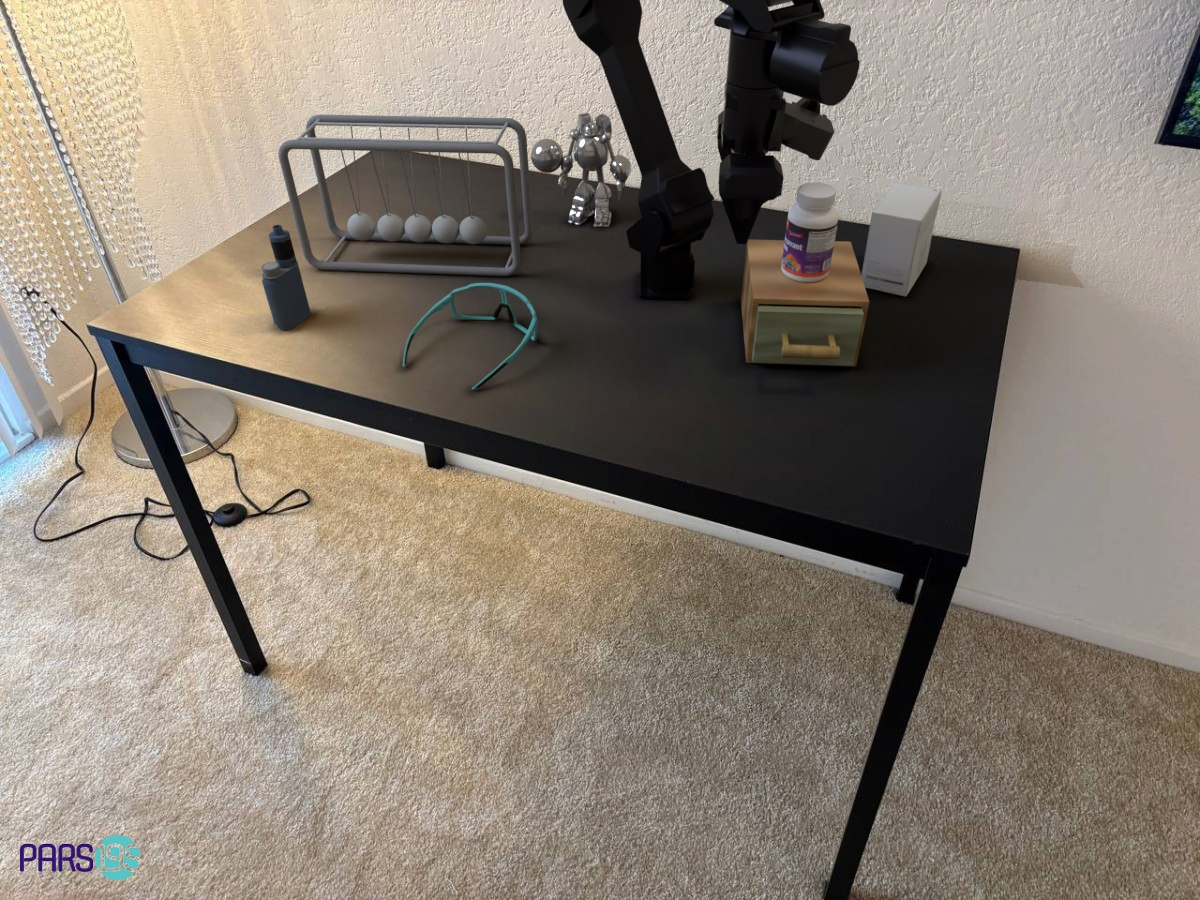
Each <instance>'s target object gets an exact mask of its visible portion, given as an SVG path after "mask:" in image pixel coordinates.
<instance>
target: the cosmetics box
mask: <svg viewBox="0 0 1200 900" xmlns="http://www.w3.org/2000/svg"><path fill="white" fill-rule="evenodd" d="M942 193H943V190H942V189H941V188H934V187H927V186H921V185H915V184H908V183H902V182H901V183H900V182H894V183H893V184H892V185H891V187H889V189H888V190H887V192H886V193H885V194H884V196H883V197H882V199H880V201H879V202H878V204H877V205H876V206H875V207H874V209H873V210H872V211H871V217H870V223H869V227H868V234H867V240H866V245H865V251H864V258H863V264H862V268H861V269H862V270H861V276H862V279H863V283H864V286H865V289H870V290H875V291H880V292H884V293H888V294H892V295H897V296H901V297H904V298H905V297H907V296H908V294H909V293H910V291H911V290H912V288H913V287H914V286H915V283H916V281H917V280H918V278H919V277H920V275H921V273H922V272H923V270H924V268H925V267H926V265H927V263H928V258H929V253H930V248H931V243H932V237H933V232H934V228H935V224H936V219H937V215H938V210H939V207H940V203H941V197H942Z"/></svg>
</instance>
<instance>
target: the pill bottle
mask: <svg viewBox="0 0 1200 900" xmlns="http://www.w3.org/2000/svg"><path fill="white" fill-rule="evenodd" d="M796 191H797V192H796V197H795V198H796V199H795V200H796V203H795V204H793V205H792V206H791V207H790V208H789V210H788V213H787V217H786V218H787V219H786V225H785V232H784V233H785V235H784V240H785V241H784V248H783V256H782V265H781V269H782V272H783V273H784V274H785V275H786V276H787V277H789V278H791V279H793V280H796V281H801V282H815V281H819V280H822V279H824V278H825V277H827V275H828V274H829V270H830V265H831V260H832V254H833V248H834V242H835V241H836V235H837V230H838V225H839V217H840V216H839V212H838V210H837V209H836V208H835V207H834V205H835V202H836V196H837V195H836V193H837V191H836V188H835V187H834V186H832V185H831V184H827V183H824V182H816V181H815V182H814V181H813V182H805V183H803V184H801V185H799V186H798V187H797V190H796Z"/></svg>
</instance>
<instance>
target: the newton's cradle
mask: <svg viewBox="0 0 1200 900" xmlns="http://www.w3.org/2000/svg"><path fill="white" fill-rule="evenodd" d="M316 126H325V127H326V126H328V127H348V128H347V129H346V130H345V131H344V132H343V133H342V134H341V135H340V136H339V137H317V135H316ZM523 126H524V125H522V124H521V123H520V122H519V121H518V120H516V119H514V118H509V117H472V116H426V115H425V116H422V115H421V116H417V115H415V116H414V115H372V114H371V115H369V114H368V115H365V114H364V115H363V114H361V115H360V114H315V115H313V116H311V117H309V119H308V120H307V122H306V124H305V131H304V132H302V133H301V134H300V135H299V136H298V137H297V138H296V139H287V140H286V141H284V142H283V143H282V144H280V146H279V149H278V160H279V164H280V168H281V172H282V176H283V180H284V184H285V187H286V193H287V196H288V199H289V204H290V207H291V212H292V215H293V219H294V222H295V227H296V231H297V234H298V239H299V242H300V247H301V250H302V254H303V256H304V259H305V261H306V262H307V263H308V264H309V265H310V266H311V267H313V268H315V269H318V270H322V271H344V272H345V271H346V272H373V273H375V272H376V273H377V272H378V273H398V274H399V273H403V274H428V275H429V274H430V275H457V276H481V277H482V276H483V277H511V276H513V275H515V274H516V273H517V272H519V270H520V268H521V266H522V253H521V245H525V244H526V243H528V242H529V241H530V240H531V239H532V237H533V235H534V234H533V233H534V225H533V224H534V223H533V211H532V210H533V209H532V196H531V183H530V182H531V181H530V170H529V169H530V168H529V167H530V166H529V155H528V154H529V153H528V139H527V133H526V130H525V127H523ZM353 127H371V128H372V127H373V128H374V127H377V128H376V129H375V130H374V132H373V133H372V134H371V135H370V136H369V137H368V138H354V134H353V132H354V131H353ZM382 128H406V129H404V130H403V132H402V133H401V135H399V137H398V139H397V138H396V139H394V138H383V137H382V130H381V129H382ZM410 128H425V129H428V128H429V129H434V130H433V131H432V133H431V135H429V137H428V139H411V134H410ZM507 128H509V129H512V130H513V131H514V132H515V133H516V136H517V143H518V144H517V145H518V158H519V159H518V160H519V169H520V171H519V172H520V184H521V195H522V209H523V221H524V232H523V234H522V235H521V236H520V229H519V228H520V227H519V217H518V216H519V215H518V205H517V204H518V203H517V193H516V180H515V168H514V167H515V166H514V161H513V156H512V155H511V153H510V152H509V151H508V149H506V148H505V146H502V145H499V142H500V140H501V139H502V137H503V135H504V133H505V132H506V129H507ZM439 129H464V130H463V131H462V133H461V134H460V136H459V138H458V139H457V140H450V139H449V140H448V139H447V140H444V139H443V140H442V139H441V140H440V139H439V138H440V137H439ZM468 129H471V130H472V129H474V130H475V129H477V130H478V129H480V130H482V129H483V130H500V132H499V133H498V136H497V138H496V139H495V141H494V140H493V141H491V140H489V141H488V140H468ZM349 130H350V134H351V137H350V138H348V137H343V135H345V134H346V132H348V131H349ZM377 131H379V137H380V138H372V137H373V135H374V134H375V133H376V132H377ZM405 132H407V134H408V135H407V136H408V139H401V138H402V136H403V135H404V134H405ZM435 132H436V137H437V139H431V137H432V136H433V135H434V133H435ZM464 133H465V140H460V139H461V137H462V136H463V134H464ZM291 150H309V151H310V155H311V159H312V163H313V168H314V172H315V176H316V180H317V185H318V189H319V194H320V197H321V202H322V207H323V210H324V215H325V219H326V223H327V226H328V229H329V231H330V232H331V233H332V234H333V235H334V236H336V237H337V238H339V239H340V240H339V242H338V243H337V245H336V246H335V247H334V248H333V250H332V251H331V252H330V254H329V255H328V256H327V257H326V259H325V260H324V261H323V260H320V259H318V258H316V257H315V256H314V254H313V251H312V247H311V243H310V240H309V235H308V231H307V227H306V223H305V219H304V216H303V213H302V208H301V204H300V200H299V199H300V198H299V196H298V192H297V187H296V184H295V180H294V179H295V178H294V175H293V172H292V168H291V163H290V160H289V152H290V151H291ZM320 151H340V152H341V156H342V157H341V158H342V161H343V164H344V169H345V172H346V175H347V179H348V183H349V188H350V191H351V194H352V199H353V203H354V205H355V206H354V207H355V210H356V213H354V214H351V216H350V217H349V219H348V220H347V231H345V230H342V229H340V228H339V227H338V225H337V223H336V219H335V214H334V210H333V205H332V201H331V197H330V193H329V188H328V184H327V180H326V179H327V178H326V175H325V170H324V165H323V162H322V157H321V153H320ZM343 151H352V154H353V164H354V173H355V182H356V183H355V185H356V192H357V202H356V198H355V195H354V191H353V186H352V183H351V179H350V174H349V172H348V171H349V170H348V168H347V164H346V160H345V156H344V152H343ZM356 151H359V152H361V151H362V152H370V156H371V161H372V163H373V167H374V170H375V174H376V178H377V182H378V186H379V189H380V193H381V197H382V200H383V204H384V208H385V212H386V213H385V214H384V215H382V216H381V217H380V218H379V220H378V222H377V225H376V223H375V221H374V219H373V218H372V216H370V215H369V214H367V213H365V212H362V211H361V203H360V202H361V201H360V193H359V182H358V173H357V172H358V171H357V163H356V153H355V152H356ZM373 152H381V155H382V165H383V173H384V181H385V191H386V199H387V203H386V201H385V200H386V199H385V197H384V193H383V189H382V185H381V182H380V178H379V174H378V170H377V167H376V163H375V159H374V155H373ZM384 152H399V156H400V159H401V164H402V168H403V173H404V176H405V180H406V185H407V189H408V194H409V198H410V202H411V206H412V210H413V215H410V216H409V217H408V218H407V219H406V221H405V222H404V220H403V219H402V217H400V215H397V214H395V213H391V208H390V199H389V190H388V183H387V172H386V165H385V155H384ZM402 152H405V153H410V165H411V175H412V184H413V194H414V202H413V198H412V194H411V193H412V192H411V189H410V185H409V181H408V177H407V172H406V168H405V164H404V160H403V156H402ZM412 153H428V155H429V159H430V165H431V169H432V174H433V179H434V183H435V188H436V192H437V193H436V194H437V197H438V202H439V207H440V212H441V215H440V216H438V217H436V218H435V219H434V221H433V222H432V223H431V220H430V219H429V218H427V217H426V216H425V215H423V214H419V213H418V204H417V196H416V195H417V193H416V186H415V185H416V184H415V175H414V174H415V173H414V165H413V154H412ZM431 153H438V163H439V173H440V183H441V184H440V187H441V196H442V203H441V198H440V193H439V187H438V183H437V178H436V174H435V173H436V172H435V168H434V163H433V160H432V159H433V158H432V154H431ZM441 153H445V154H446V153H449V154H458V157H459V163H460V169H461V175H462V180H463V186H464V191H465V196H466V201H467V208H468V213H469V216H467V217H465V218H464V219H463V220H461V222H460V224H459V223H458V221H457V220H456V219H455V218H454V217H452V216H450V215H446V213H445V212H446V209H445V198H444V187H443V186H444V185H443V174H442V164H441V163H442V161H441ZM461 154H466V156H467V170H468V185H469V197H468V190H467V185H466V180H465V174H464V169H463V164H462V157H461ZM469 154H489V155H490V154H491V155H492V154H493V155H497V156H498V157H500V158H501V159H502V161H503V166H504V178H505V189H506V199H507V200H506V202H507V212H508V222H509V224H508V225H509V233H510V236H501V235H500V236H499V235H498V236H497V235H487V233H488V229H487V225H486V223H485V222H484V220H483V219H482V218H480V217H478V216H475V215H474V214H473V213H474V212H473V200H472V185H471V172H470V156H469ZM469 198H470V199H469ZM469 201H470V202H469ZM357 203H358V206H357ZM414 203H415V204H414ZM386 204H387V205H386ZM414 205H415V206H414ZM376 228H377V229H376ZM376 230H377V232H376ZM345 240H351V241H360V242H361V241H362V242H364V241H379V242H380V241H381V242H390V243H393V242H410V243H412V242H414V243H417V244H419V243H438V244H439V243H441V244H469V245H477V244H478V245H503V246H511V252H510V254H509V257H508V260H507V261H506V265H505V266H504V267H495V266H494V267H492V266H490V267H489V266H466V265H465V266H463V265H462V266H461V265H435V264H434V265H433V264H408V263H407V264H404V263H380V262H379V263H378V262H376V263H375V262H351V261H350V262H349V261H330V260H331V259H332V258H333V256H335V253H336V252H337V251H338V249H339V248H340V247H341V246H342V244H343V243H344V241H345ZM511 262H512V263H511Z"/></svg>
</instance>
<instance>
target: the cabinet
mask: <svg viewBox="0 0 1200 900" xmlns="http://www.w3.org/2000/svg"><path fill="white" fill-rule="evenodd" d="M784 241H785V239H748V242H747V243H746V244H745V254H744V255H745V256H744V264H743V266H744V267H743V274H742V275H743V277H742V286H741V296H740V306H741V307H740V308H741V317H742V330H743V341H744V343H743V344H744V355H745V363H746V364H754V363H753V361H752V353H753V344H754V336H755V327H756V318H757V309H758V306H759V304H782V305H818V306H854V308H858V309H863V313H864V316H863V321H862V326H861V331H860V336H859V341H858V346H857V351H856V356H855V361H854V365H853V366H852V367H857V365H858V359H859V355H860V349H861V344H862V341H863V335H864V329H865V325H866V320H867V315H868V311H869V306H870V300H869V295H868V293H867V288H865V286H864V283H863V279H862V276H861V274H862V272H861V271H860V270H861V269H860V267H859V263H858V261H857V257H856V254H855V251H854V247H853V244H852V242H851V241H841V240H840V241H839V240H838V241H837V240H835V242H834V248H833V254H832V260H831V265H830V270H829V274H828V275H827V277H825V278H824V279H822V280H819V281H815V282H801V281H796V280H793V279H791V278H789V277H787V276H786V275H785V274H784V273H783V272H782V269H781V265H782V256H783V248H784ZM763 364H765V365H766V364H769V365H782V364H781V363H763ZM795 365H796V366H799V365H800V366H803V365H804V366H813V365H812V364H794V366H795ZM826 366H828V367H829V366H831V367H844V366H843V365H825V367H826Z"/></svg>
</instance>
